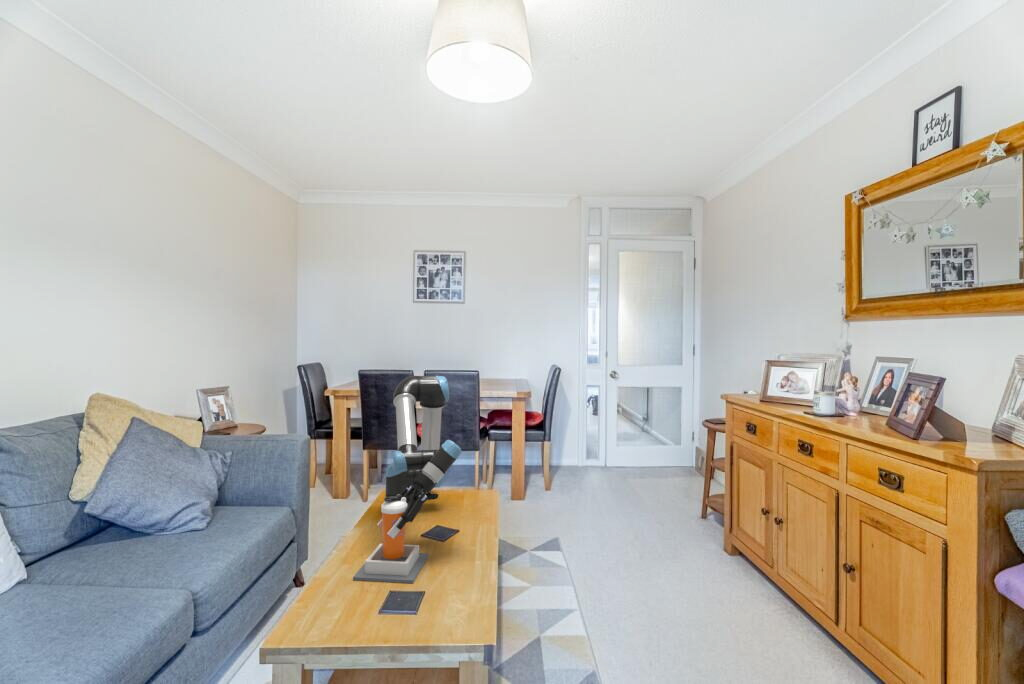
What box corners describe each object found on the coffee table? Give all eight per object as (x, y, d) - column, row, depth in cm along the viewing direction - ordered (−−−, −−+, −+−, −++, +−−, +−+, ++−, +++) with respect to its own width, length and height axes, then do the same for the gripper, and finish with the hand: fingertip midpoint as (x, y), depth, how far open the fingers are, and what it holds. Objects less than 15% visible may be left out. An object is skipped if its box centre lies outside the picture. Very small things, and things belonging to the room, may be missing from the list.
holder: (375, 553, 171) (375, 539, 171) (428, 556, 169) (428, 542, 169) (353, 580, 151) (353, 564, 151) (413, 583, 149) (413, 567, 149)
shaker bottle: (375, 555, 160) (376, 496, 160) (397, 547, 166) (398, 491, 167) (389, 563, 153) (390, 502, 154) (411, 555, 160) (412, 497, 160)
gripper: (448, 491, 161) (404, 548, 151) (422, 477, 178) (381, 527, 168) (435, 478, 158) (389, 535, 148) (409, 465, 175) (366, 515, 165)
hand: (385, 531), depth 158 cm, fingers closed on shaker bottle, 9 cm apart
